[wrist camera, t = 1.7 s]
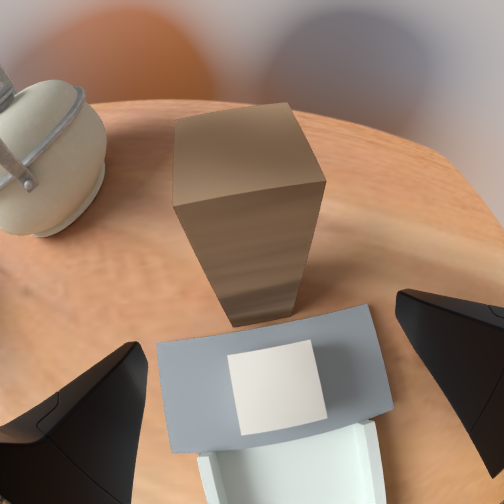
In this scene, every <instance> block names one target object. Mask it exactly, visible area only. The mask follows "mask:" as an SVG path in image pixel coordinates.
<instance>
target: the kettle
mask: <svg viewBox="0 0 504 504" xmlns="http://www.w3.org/2000/svg"><path fill="white" fill-rule="evenodd" d="M0 82H1V83H2V85H3V86H2V87H0V229H1V230H2V231H4V232H6V233H8V234H12V235H18V236H24V235H32V236H35V237H47V236H51V235H54V234H56V233H58V232H60V231H61V230H63V229H65V228H66V227H68V226H69V225H70V224H71V223H73V222H74V221H75V220H76V219H77V218H78V217H79V216H80V215H81V214H82V213H83V212H84V211H85V210H86V209H87V208H88V206H89V205H90V204H91V202H92V201H93V200H94V198H95V196H96V195H97V193H98V191H99V189H100V187H101V185H102V182H103V179H104V175H105V163H104V159H105V155H106V149H107V135H106V130H105V127H104V124H103V122H102V120H101V119H100V117H99V116H98V114H97V113H96V112H95V110H94V109H93V108H92V107H91V106H90V105H89V104H88V103H86V102H85V95H86V94H85V91H84V89H83V88H81V87H78V86H71V85H70V84H68V83H66V82H64V81H61V80H47V81H43V82H39V83H36V84H34V85H32V86H29V87H28V88H26V89H24V90H22V91H21V92H19V93H18V92H17V90H16V88H15V86H14V84H13V82H12V81H11V79H10V77H9V76H8V74H7V73H6V71H5V70H4V68H3V67H2V66H1V64H0Z"/></svg>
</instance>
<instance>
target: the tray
mask: <svg viewBox="0 0 504 504" xmlns="http://www.w3.org/2000/svg"><path fill="white" fill-rule="evenodd" d="M197 462H198V466H199V471H200V475H201V479H202V483H203V488H204V492H205V495H206V499H207V503H208V504H386V494H385V485H384V477H383V469H382V462H381V456H380V449H379V443H378V437H377V431H376V426H375V421H371V420H364V421H361V422H358V423H355V424H352V425H349V426H346V427H343V428H340V429H336V430H333V431H329V432H326V433H322V434H318V435H314V436H310V437H306V438H302V439H297V440H292V441H288V442H283V443H277V444H272V445H266V446H260V447H253V448H245V449H237V450H228V451H216V452H202V453H201V454H199V455H198V456H197Z"/></svg>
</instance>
